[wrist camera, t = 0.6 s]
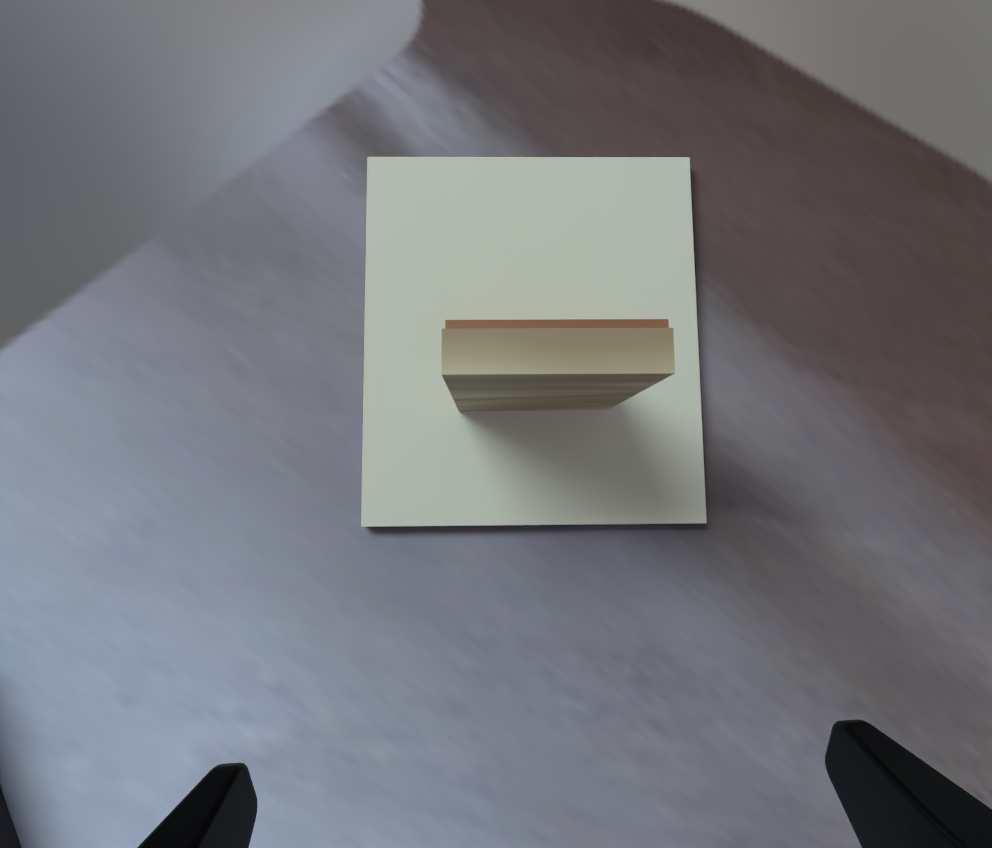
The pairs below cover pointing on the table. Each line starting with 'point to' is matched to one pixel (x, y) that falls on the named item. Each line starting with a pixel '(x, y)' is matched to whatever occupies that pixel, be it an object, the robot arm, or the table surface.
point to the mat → (526, 296)
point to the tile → (553, 362)
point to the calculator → (7, 828)
